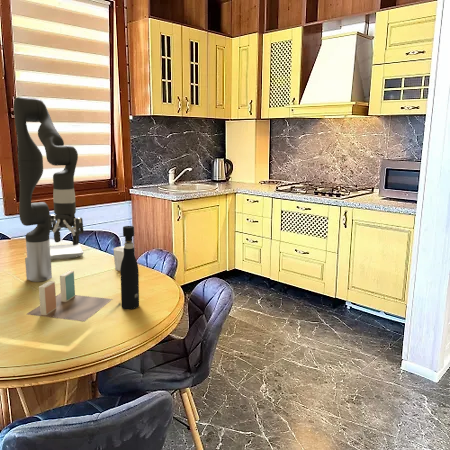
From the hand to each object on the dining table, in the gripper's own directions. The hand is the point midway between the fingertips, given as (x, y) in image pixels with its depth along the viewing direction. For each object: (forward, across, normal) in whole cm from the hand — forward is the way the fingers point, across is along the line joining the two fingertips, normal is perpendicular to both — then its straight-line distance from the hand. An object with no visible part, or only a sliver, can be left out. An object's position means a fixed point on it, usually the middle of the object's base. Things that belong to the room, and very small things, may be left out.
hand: (66, 243), depth 155 cm
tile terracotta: (+20, +5, -16) cm, 26 cm away
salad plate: (+23, -45, +44) cm, 66 cm away
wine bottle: (+21, +26, +2) cm, 34 cm away
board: (+21, +9, -9) cm, 25 cm away
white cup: (+22, -2, +38) cm, 44 cm away
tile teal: (+20, +3, -4) cm, 21 cm away
